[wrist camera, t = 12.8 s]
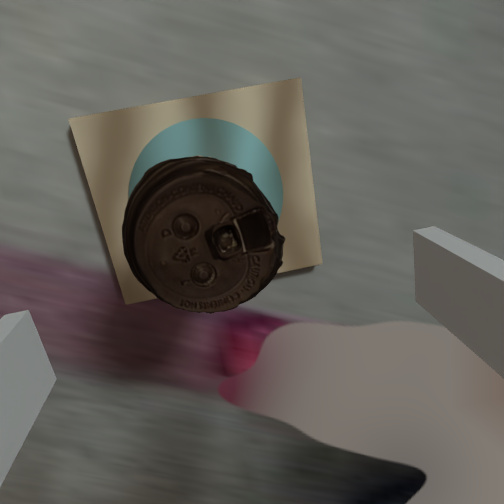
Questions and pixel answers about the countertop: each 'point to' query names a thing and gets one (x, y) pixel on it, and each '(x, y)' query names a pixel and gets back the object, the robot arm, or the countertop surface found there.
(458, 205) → the countertop surface
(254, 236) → the coffee cup
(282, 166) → the oak board
